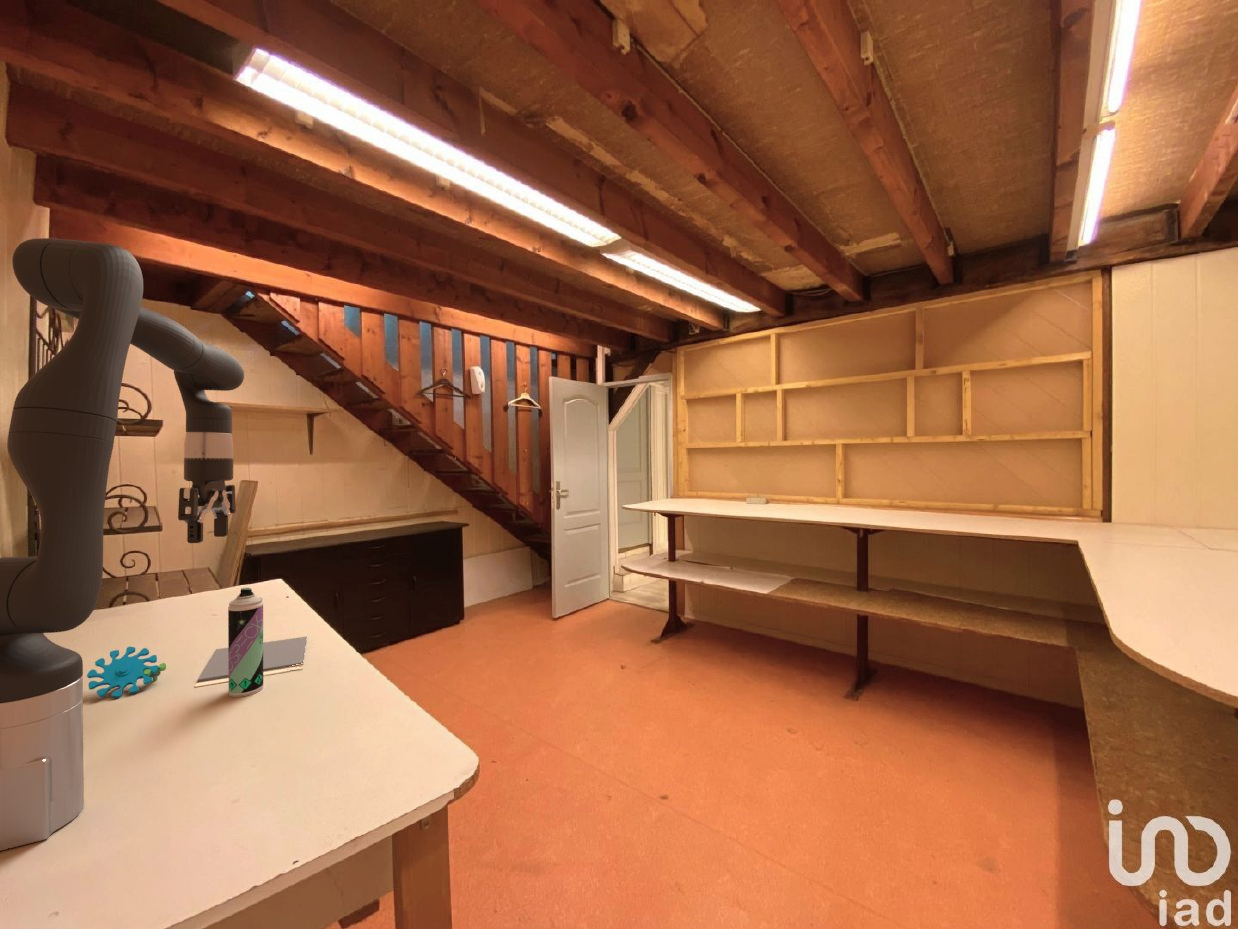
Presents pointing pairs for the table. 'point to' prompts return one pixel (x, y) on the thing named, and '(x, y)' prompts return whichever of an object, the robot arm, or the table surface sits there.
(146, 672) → the gear
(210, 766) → the table surface
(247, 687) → the spray can
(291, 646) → the gray flat panel
